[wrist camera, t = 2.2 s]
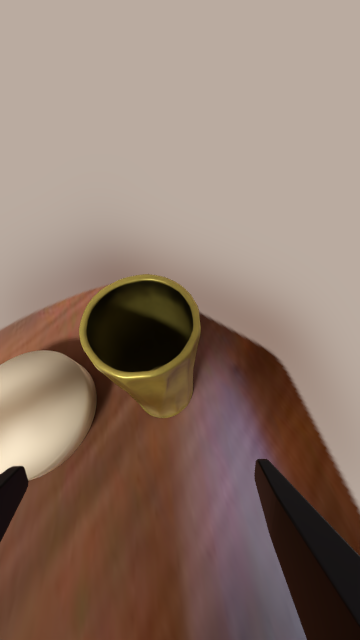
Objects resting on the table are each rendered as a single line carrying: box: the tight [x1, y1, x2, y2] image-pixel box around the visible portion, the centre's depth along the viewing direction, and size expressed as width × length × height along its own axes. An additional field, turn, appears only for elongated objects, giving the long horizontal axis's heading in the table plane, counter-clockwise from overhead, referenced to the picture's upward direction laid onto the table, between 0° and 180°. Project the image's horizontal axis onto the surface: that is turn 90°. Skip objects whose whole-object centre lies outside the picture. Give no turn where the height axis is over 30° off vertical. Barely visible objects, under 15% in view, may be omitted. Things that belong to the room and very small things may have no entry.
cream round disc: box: [0, 350, 97, 481], centre depth 18 cm, size 11×11×3 cm
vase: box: [79, 274, 201, 418], centre depth 14 cm, size 6×6×14 cm
